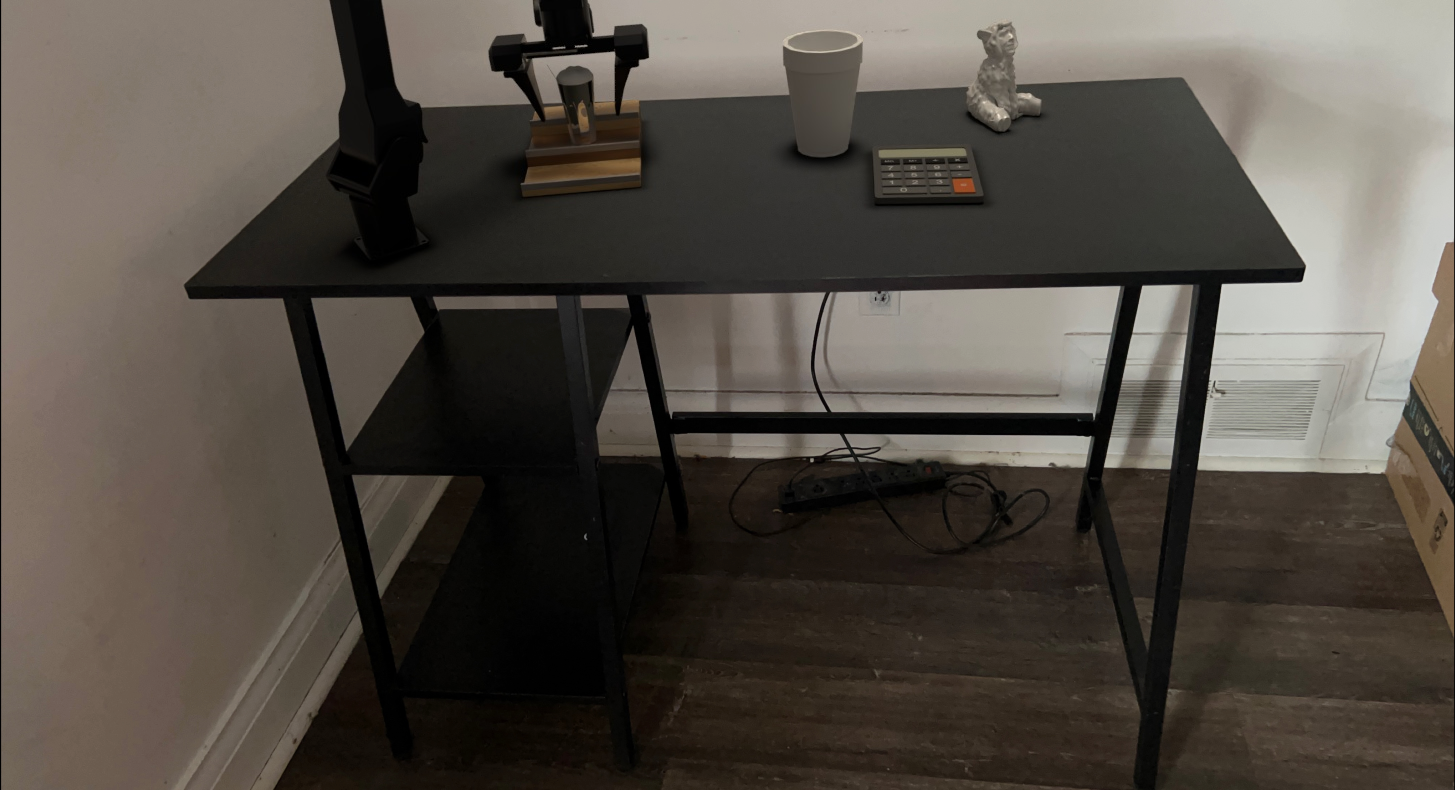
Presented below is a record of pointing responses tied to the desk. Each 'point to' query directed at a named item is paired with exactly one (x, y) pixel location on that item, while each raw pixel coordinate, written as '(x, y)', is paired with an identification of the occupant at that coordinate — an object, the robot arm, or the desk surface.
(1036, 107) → the seated beast figurine
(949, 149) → the calculator
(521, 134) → the desk surface
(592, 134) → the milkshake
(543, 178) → the rack
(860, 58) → the foam cup
